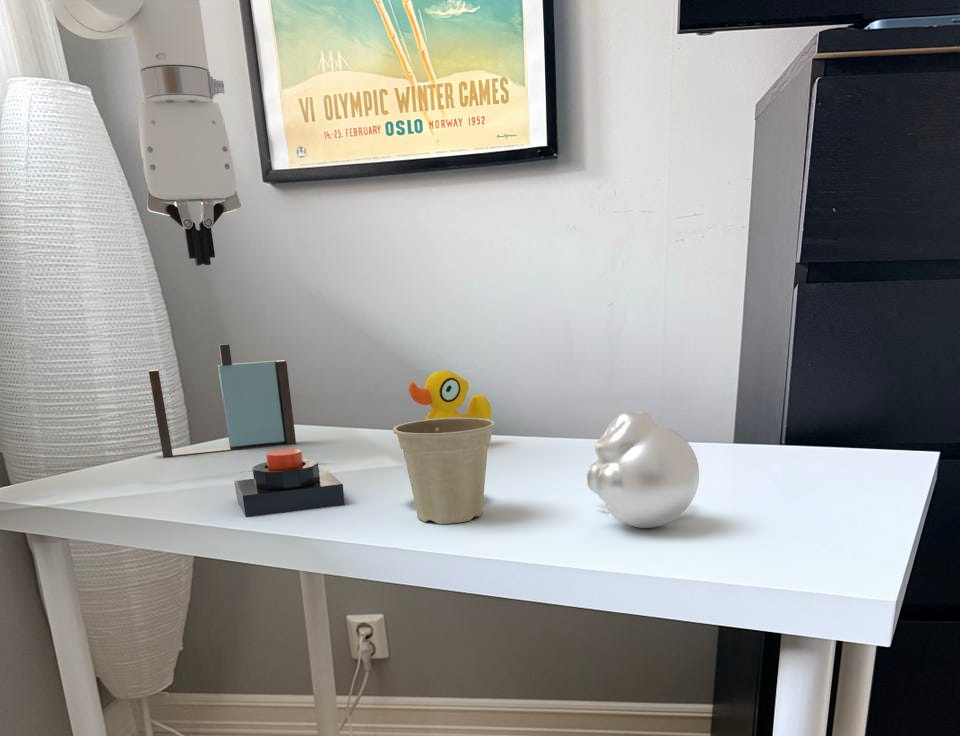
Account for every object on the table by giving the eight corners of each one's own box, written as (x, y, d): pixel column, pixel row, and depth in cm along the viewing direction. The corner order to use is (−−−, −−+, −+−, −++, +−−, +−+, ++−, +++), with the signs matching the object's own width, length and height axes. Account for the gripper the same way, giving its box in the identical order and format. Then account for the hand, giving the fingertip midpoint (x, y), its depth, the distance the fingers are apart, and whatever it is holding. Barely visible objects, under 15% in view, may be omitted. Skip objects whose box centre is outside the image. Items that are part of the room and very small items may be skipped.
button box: (245, 517, 92) (239, 477, 90) (237, 501, 99) (231, 463, 97) (345, 505, 95) (341, 466, 93) (329, 490, 102) (326, 453, 100)
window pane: (231, 447, 121) (216, 345, 116) (230, 445, 122) (215, 344, 117) (284, 441, 123) (272, 341, 118) (283, 440, 124) (271, 341, 119)
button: (270, 474, 93) (268, 456, 93) (265, 468, 96) (263, 451, 96) (306, 470, 94) (304, 452, 94) (300, 464, 97) (298, 447, 97)
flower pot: (382, 516, 90) (374, 425, 86) (464, 500, 94) (460, 413, 91) (432, 535, 82) (425, 437, 79) (518, 517, 87) (515, 423, 84)
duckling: (423, 456, 118) (417, 375, 114) (405, 451, 122) (399, 372, 118) (500, 445, 123) (497, 367, 119) (480, 440, 127) (477, 365, 123)
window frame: (165, 468, 119) (148, 371, 114) (164, 465, 121) (148, 370, 116) (297, 454, 124) (286, 360, 119) (295, 451, 126) (284, 359, 121)
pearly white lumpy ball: (606, 510, 87) (606, 402, 84) (706, 517, 84) (711, 403, 80) (574, 535, 80) (572, 418, 76) (683, 543, 76) (687, 420, 72)
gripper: (240, 98, 111) (261, 263, 118) (108, 96, 106) (137, 268, 113) (248, 86, 104) (269, 261, 111) (107, 84, 100) (139, 267, 107)
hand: (203, 264), depth 112 cm, fingers closed
